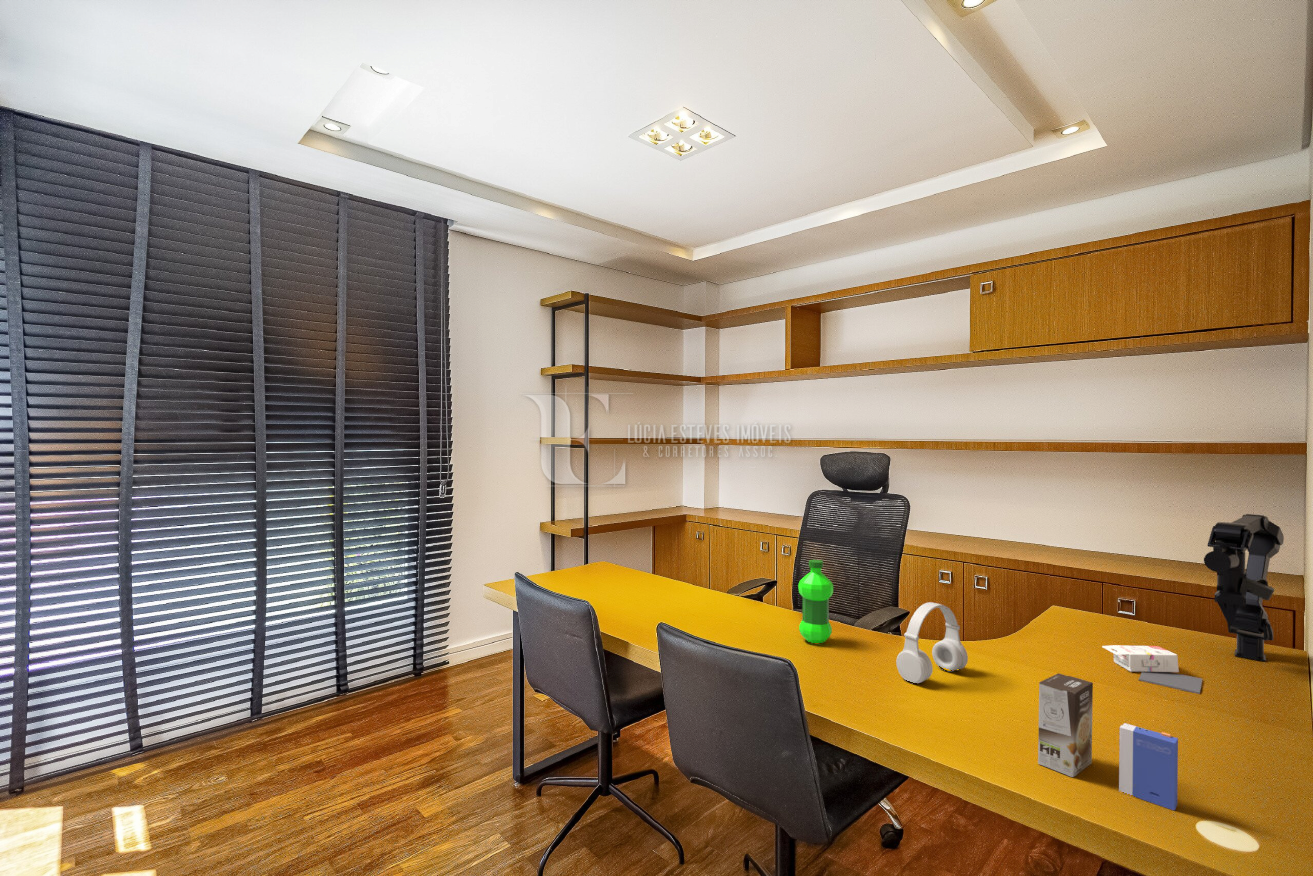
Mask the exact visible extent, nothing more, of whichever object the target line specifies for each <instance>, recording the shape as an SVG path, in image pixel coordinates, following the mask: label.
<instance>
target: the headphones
mask: <svg viewBox="0 0 1313 876" xmlns="http://www.w3.org/2000/svg"><path fill="white" fill-rule="evenodd" d="M935 609H940V611H941V613H942V614H943V616H944V621H945V634H944V638H943V639H942V640H940V641H937V642H936V643H935V644H933V647H932V651H931V654H932V658H933V660H934V663H935V664H936V666H938V667H939V666H940V667H942V668H946V669H949V670H952V671H951V672H955V671H954V670H957V669H961V670H962V669H964V668H965V667H966V666H967V664H968V660H969V656H968V652H967V650H966V648H965V647H964V645H963V644H962V642H961V638H960V637H961V636H960V633H959V632H960V631H959V630H960V629H961V626H960V625H958V624H959V623H958V621H957V618H956V615H955V613H954V612H953V611H952V610H951V608H949V607H948V606H946V605H944V604H941V603H936V602H932V601H929V602H925V603H923V604H922V605H920V606H919V607H918V608H916V610H915V611H914V613H913V615H912V616H911V618H910V621H909V623H908V627H907V629H906V632H905V633H904V634H903V636H904V638H905V639H904V646H903V649H902V651H901V652H899V653H898V655H897V657H896V661H895V663H896V668H897V671H898V673H899V675H900V676H901V677H902V679H904V681H906V680H907V681H910V682H913V683H917V684H920V683H923V682H924V681H926V680H929V678H931V676H932V674H933V670H934V669H933V664H932V663H933V662H932V661H931V659H930V657H929V655H928V654H927V653H926V652H925V651H923V650H921V649H920V648H919V639H920V636H919V633H920V631H921V628H922V625H923V623H924V620H925V619H926V617H928V615H929V613H930V612H931V611H933V610H935ZM940 667H939V668H940ZM957 671H958V670H957ZM907 681H906V682H907ZM913 683H912V684H913Z"/></svg>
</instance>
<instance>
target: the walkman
mask: <svg viewBox="0 0 1313 876" xmlns="http://www.w3.org/2000/svg"><path fill="white" fill-rule="evenodd" d="M1118 734H1119V739H1118V742H1119V743H1118V746H1119V749H1118V750H1119V754H1118V755H1119V756H1118V757H1119V759H1118V760H1119V761H1118V765H1119V766H1118V767H1119V769H1118V792H1120V791H1121V793H1122V792H1124V793H1123V794H1125V793H1127V794H1126V795H1128V794H1130V795H1129V796H1131V795H1133V796H1132V797H1134V796H1135V797H1134V798H1138V799H1139V800H1143V801H1146V802H1148V803H1152V804H1154V805H1157V806H1160V807H1163V808H1165V809H1168V810H1171V811H1176V808H1177V806H1178V785H1179V784H1178V781H1179V779H1178V777H1179V776H1178V775H1179V772H1178V771H1179V769H1178V768H1179V767H1178V766H1179V756H1178V755H1179V752H1178V751H1179V738H1178V737H1174V736H1172V735H1171V734H1170V733H1166V732H1163V731H1162V732H1158V731H1155V730H1154V731H1153V730H1150V729H1146V728H1143V727H1139V726H1137V725H1133V724H1130V723H1125V722H1124V723H1123V724H1121V725H1120V726H1119V733H1118Z"/></svg>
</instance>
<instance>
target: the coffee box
mask: <svg viewBox="0 0 1313 876" xmlns="http://www.w3.org/2000/svg"><path fill="white" fill-rule="evenodd" d="M1038 684H1039V685H1038V686H1039V687H1038V691H1039V692H1038V693H1039V695H1038V744H1037V745H1038V746H1037V750H1038V751H1037V752H1038V753H1037V754H1038V755H1037V756H1038V757H1037V763H1038V765H1041V766H1043V767H1045V768H1048V769H1050V770H1053V771H1055V772H1058V773H1061V774H1063V775H1065V776H1068V777H1070V778H1074V777H1076V776H1077V775H1078V774H1080V773H1081V772H1083V770H1084V769H1086V768H1088V767H1089V766H1090V765H1091V764H1092V763H1093V762H1092V759H1093V756H1092V755H1093V703H1094V702H1093V699H1094V698H1093V697H1094V695H1093V688H1094V687H1093V686H1094V682H1091V681H1089V680H1085V679H1082V678H1078V677H1074V676H1072V675H1067V674H1066V675H1065V674H1062V673H1056V674H1054V675H1052V676H1050V677H1047V678H1046V679H1043V680H1041V681H1039V683H1038Z"/></svg>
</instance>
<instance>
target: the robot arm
mask: <svg viewBox="0 0 1313 876" xmlns="http://www.w3.org/2000/svg"><path fill="white" fill-rule="evenodd" d="M1284 537H1285V536H1284V533H1283V531H1282V529H1281V526H1279V525H1277V524H1276V523H1274V522H1272V521H1270V520H1269V517H1268V516H1267V515H1264V514H1262V515H1261V514H1255V513H1254V514H1253V513H1251V514H1250V513H1247V514H1243V515H1242V517H1240V518H1238V519H1236V520H1234V521H1232V522H1228V521H1227V522H1225V521H1223V522H1222V521H1218V522H1217V523H1215V525H1213V526H1212V528H1211V532H1210V535H1209V538H1208V542H1207V547H1210V548H1212V549H1213V550H1212V551H1209V552H1208V553H1206V554H1205V555H1204V557H1203V563H1204V566H1205V567H1206V568H1207V569H1208V570H1210V571H1212V572H1214V573H1216V579H1217V581H1216V592H1215V593H1214V602H1215V603H1217V605H1218V607H1219V608H1220V610H1221V613H1222V615H1223V617H1224V619H1225V621H1226V623H1227V630H1228V633H1230V634H1235V635H1236V649H1234V657H1239V658H1244V659H1248V660H1255V661H1259V660H1260V662H1267V657H1266V654H1265V653H1264V651H1265V648H1264V647H1265V641H1267V642H1268V641H1274V630H1273V628H1272V625H1271V622H1270V620H1269V615H1268V613H1267V612H1266V610H1265V608H1264V607H1263V600H1265V601H1270V599H1271V597H1272V596H1273V594H1274V592H1275V588H1274V587H1273V586H1271V585H1270V586H1269V582H1268V580H1267V577H1268V573H1269V572H1268V571H1269V565H1270V561H1271V559H1272V558H1273V557H1274V556H1276V555H1277V554H1278V553H1279V552H1280V549H1281V546H1282V545H1283V544H1284V540H1285V538H1284ZM1246 551H1247V552H1248V556H1247V561H1246ZM1246 562H1247V563H1246Z"/></svg>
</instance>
